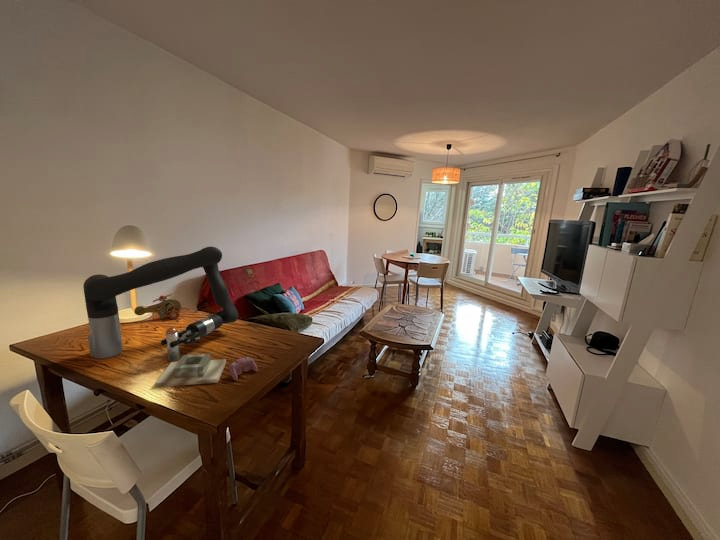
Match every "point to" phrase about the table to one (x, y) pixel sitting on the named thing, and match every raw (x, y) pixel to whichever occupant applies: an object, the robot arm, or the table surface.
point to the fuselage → (173, 352)
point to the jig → (192, 371)
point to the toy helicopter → (162, 308)
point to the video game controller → (245, 362)
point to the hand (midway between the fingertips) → (166, 344)
